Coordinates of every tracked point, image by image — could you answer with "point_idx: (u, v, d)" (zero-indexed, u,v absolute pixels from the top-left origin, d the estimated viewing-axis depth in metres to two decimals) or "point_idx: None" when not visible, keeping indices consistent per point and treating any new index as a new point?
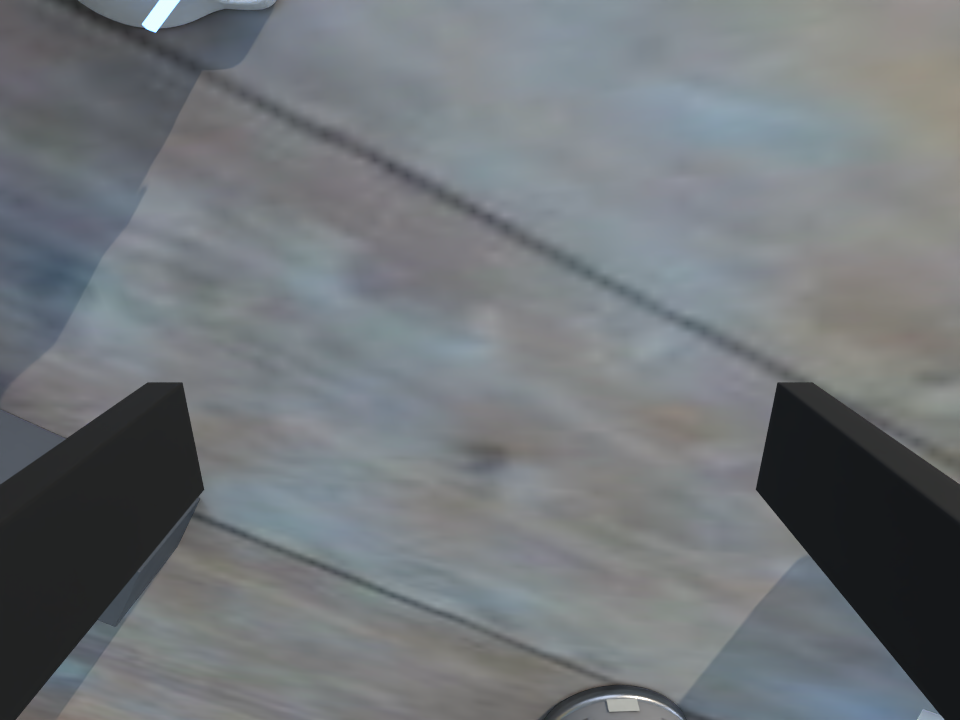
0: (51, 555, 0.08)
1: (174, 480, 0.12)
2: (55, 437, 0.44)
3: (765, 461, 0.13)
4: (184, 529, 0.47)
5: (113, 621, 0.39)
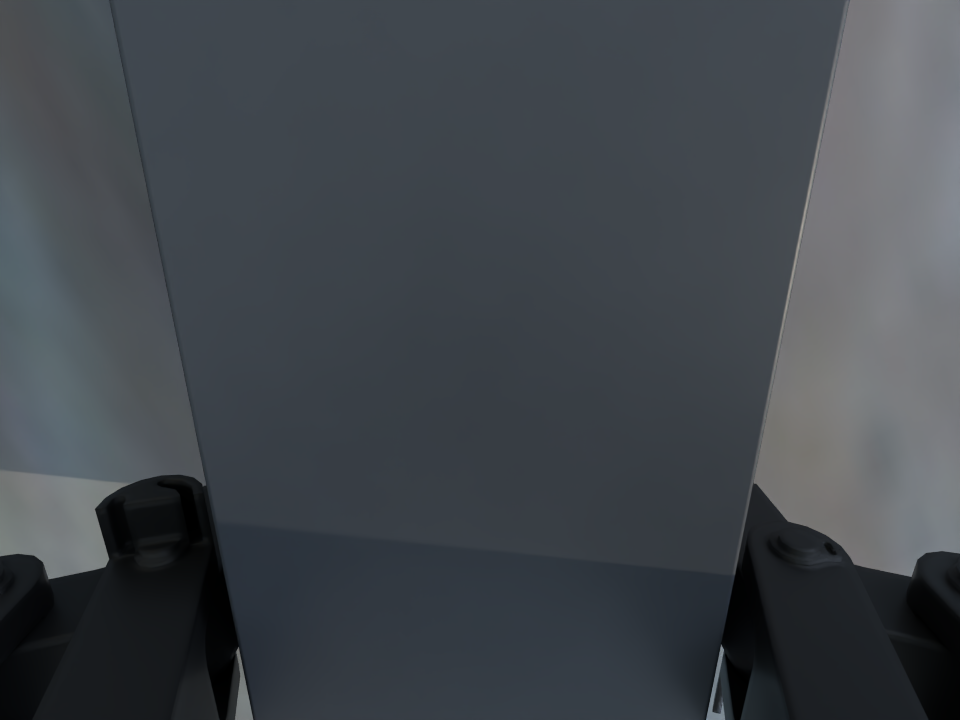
0: None
1: None
2: None
3: None
4: None
5: None
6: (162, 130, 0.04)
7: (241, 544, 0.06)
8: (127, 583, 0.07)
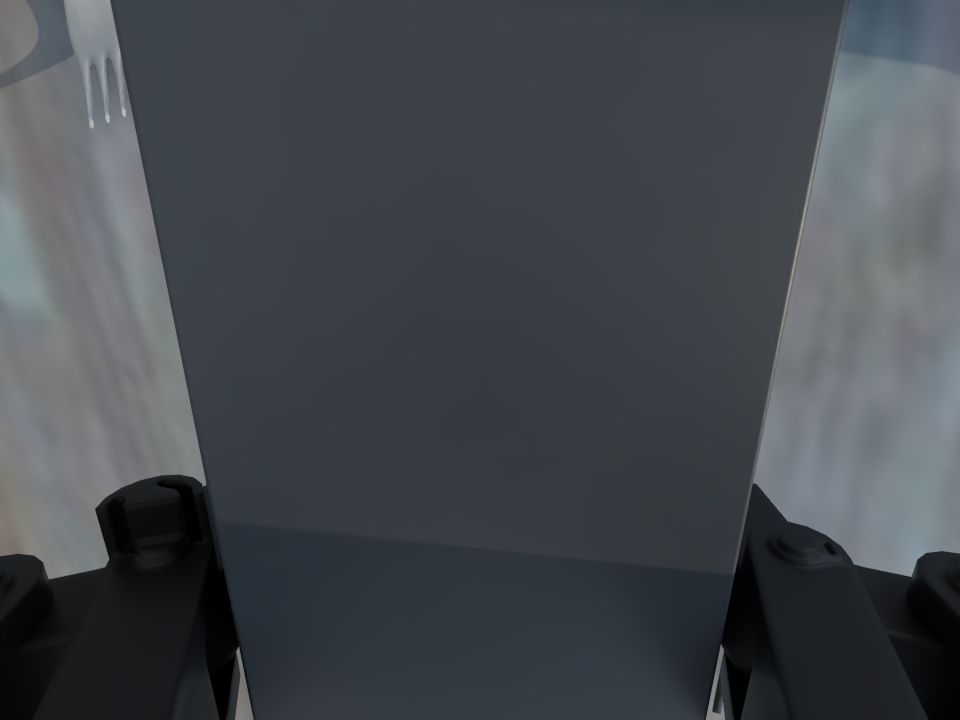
0: None
1: None
2: None
3: None
4: None
5: None
6: (162, 127, 0.04)
7: (241, 542, 0.06)
8: (127, 583, 0.07)
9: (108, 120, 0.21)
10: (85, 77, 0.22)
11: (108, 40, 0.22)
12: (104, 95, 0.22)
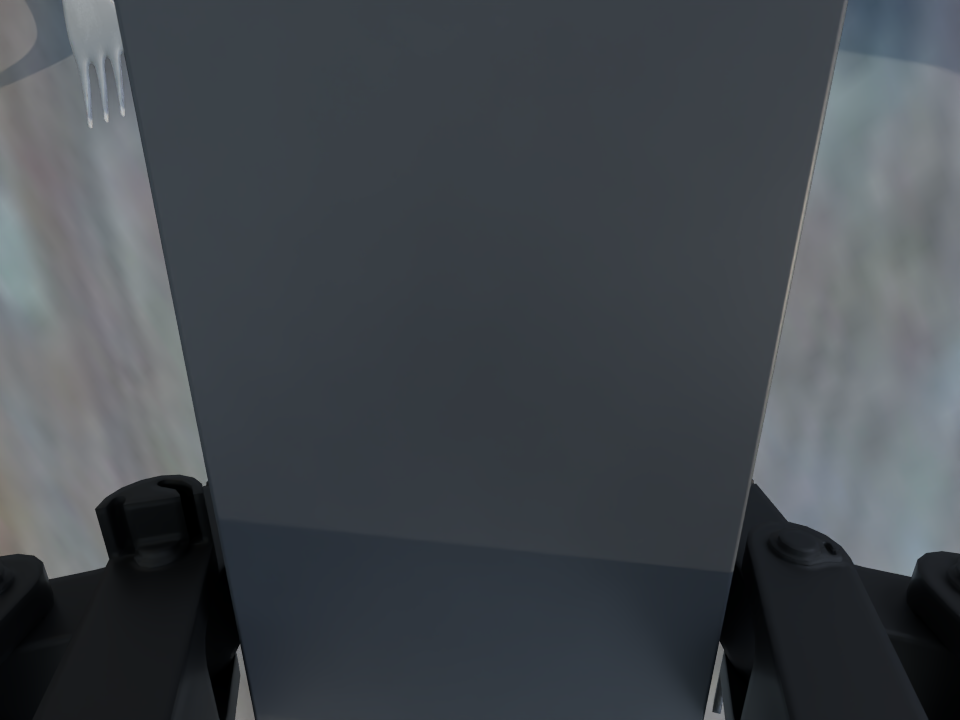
0: None
1: None
2: None
3: None
4: None
5: None
6: (165, 126, 0.05)
7: (242, 539, 0.06)
8: (128, 583, 0.07)
9: (107, 119, 0.21)
10: (84, 76, 0.22)
11: (107, 39, 0.22)
12: (103, 94, 0.22)
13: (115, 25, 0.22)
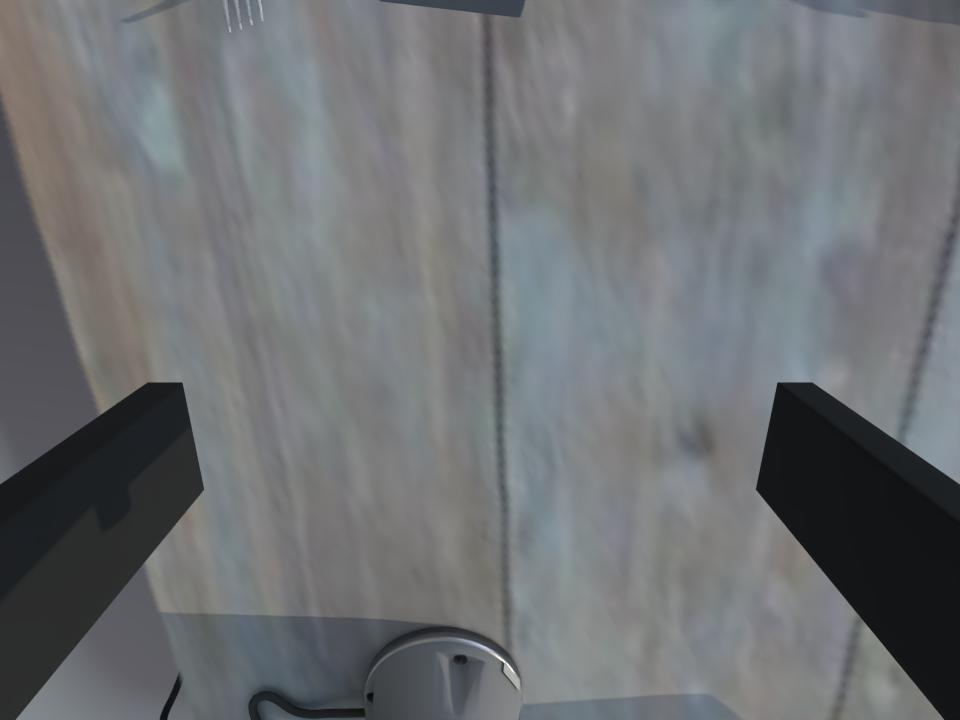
0: (51, 555, 0.08)
1: (174, 480, 0.12)
2: None
3: (765, 460, 0.13)
4: (440, 5, 0.22)
5: None
6: None
7: None
8: None
9: (241, 27, 0.33)
10: (224, 0, 0.34)
11: None
12: (238, 11, 0.34)
13: None
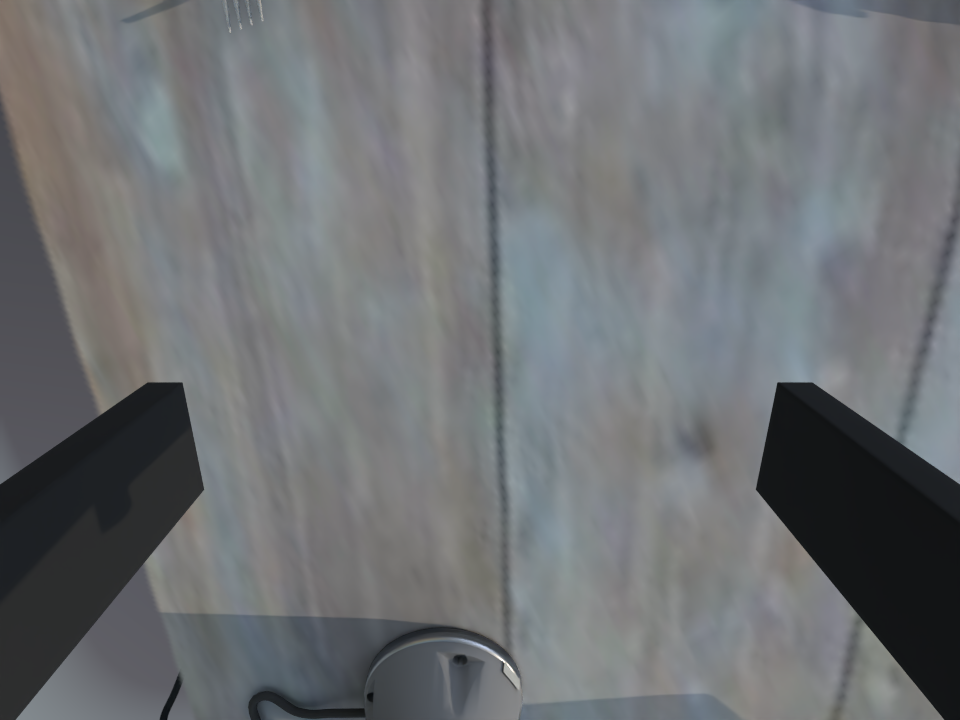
0: (51, 555, 0.08)
1: (174, 480, 0.12)
2: None
3: (765, 461, 0.13)
4: None
5: None
6: None
7: None
8: None
9: (241, 27, 0.33)
10: (224, 0, 0.34)
11: None
12: (237, 11, 0.34)
13: None
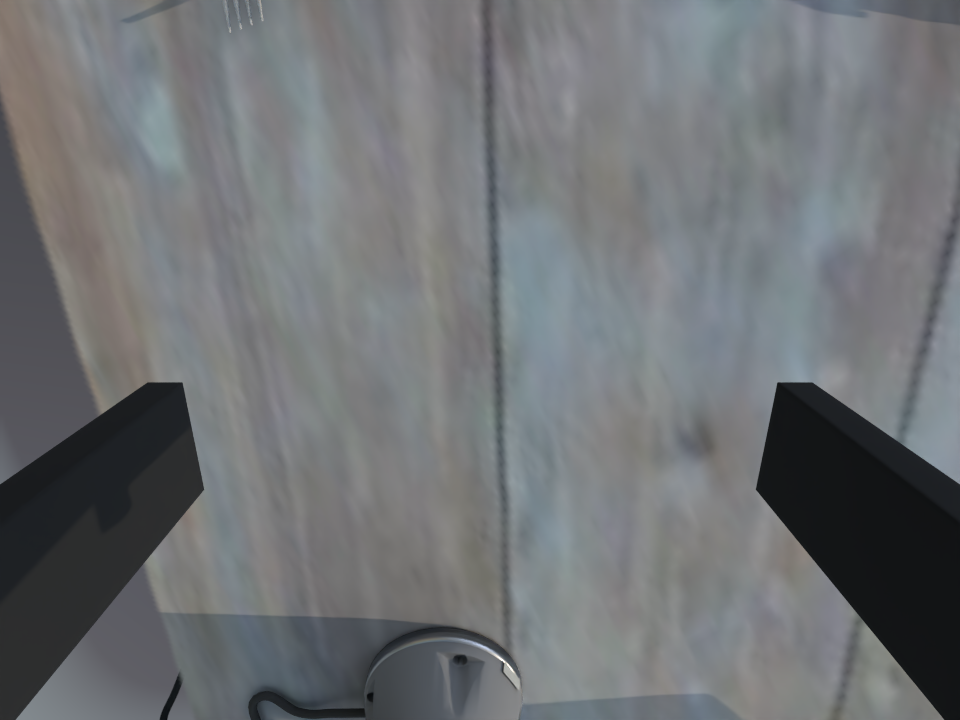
0: (51, 555, 0.08)
1: (174, 480, 0.12)
2: None
3: (765, 461, 0.13)
4: None
5: None
6: None
7: None
8: None
9: (241, 27, 0.33)
10: (224, 0, 0.34)
11: None
12: (237, 11, 0.34)
13: None
